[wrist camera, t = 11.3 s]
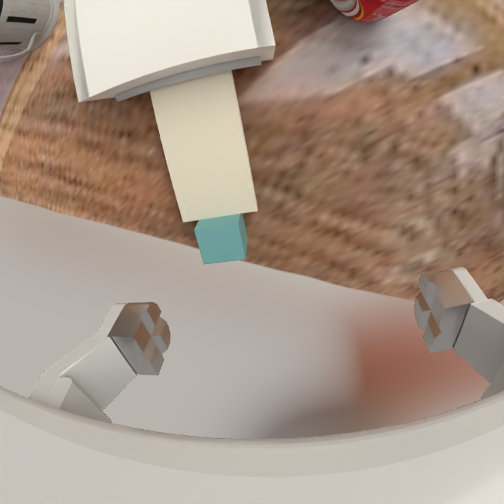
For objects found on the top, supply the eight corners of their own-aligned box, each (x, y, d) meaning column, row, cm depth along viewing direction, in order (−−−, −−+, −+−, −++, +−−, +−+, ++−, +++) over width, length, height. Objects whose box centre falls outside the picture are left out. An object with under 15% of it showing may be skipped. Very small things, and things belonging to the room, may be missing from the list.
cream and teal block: (229, 55, 23) (223, 49, 20) (263, 238, 33) (263, 257, 30) (152, 76, 24) (136, 74, 21) (195, 247, 34) (187, 266, 31)
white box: (248, -49, 17) (241, -89, 10) (274, 67, 25) (277, 55, 17) (107, -6, 20) (63, -25, 12) (126, 102, 27) (80, 111, 19)
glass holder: (44, -16, 17) (-35, -29, 4) (91, 30, 22) (-3, 18, 9) (8, 34, 20) (-72, 40, 7) (48, 86, 25) (-44, 105, 12)
